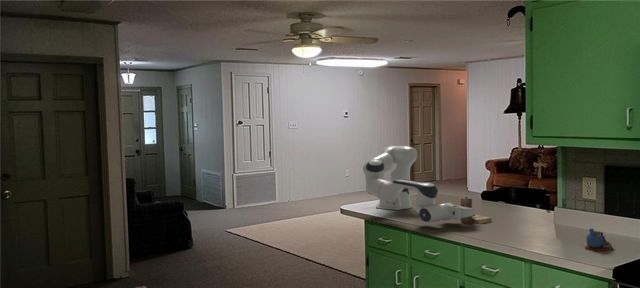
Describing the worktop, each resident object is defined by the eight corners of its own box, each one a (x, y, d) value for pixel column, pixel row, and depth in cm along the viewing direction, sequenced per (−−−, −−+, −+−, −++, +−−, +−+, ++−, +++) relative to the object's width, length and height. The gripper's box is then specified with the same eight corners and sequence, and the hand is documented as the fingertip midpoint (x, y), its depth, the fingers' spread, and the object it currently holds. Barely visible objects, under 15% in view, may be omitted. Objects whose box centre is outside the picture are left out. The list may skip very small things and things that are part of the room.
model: (601, 253, 219) (601, 231, 218) (580, 248, 226) (580, 227, 226) (617, 248, 225) (617, 226, 224) (596, 244, 233) (596, 223, 232)
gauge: (466, 223, 282) (466, 197, 281) (461, 222, 286) (460, 196, 285) (477, 221, 286) (477, 195, 285) (472, 220, 289) (471, 195, 289)
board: (491, 221, 285) (491, 217, 285) (479, 223, 280) (479, 220, 280) (459, 214, 306) (459, 211, 306) (447, 216, 301) (447, 213, 301)
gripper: (434, 214, 287) (453, 211, 294) (461, 220, 269) (481, 216, 276) (433, 202, 286) (452, 199, 293) (461, 207, 269) (480, 204, 275)
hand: (466, 208), depth 284 cm, fingers open, 8 cm apart
